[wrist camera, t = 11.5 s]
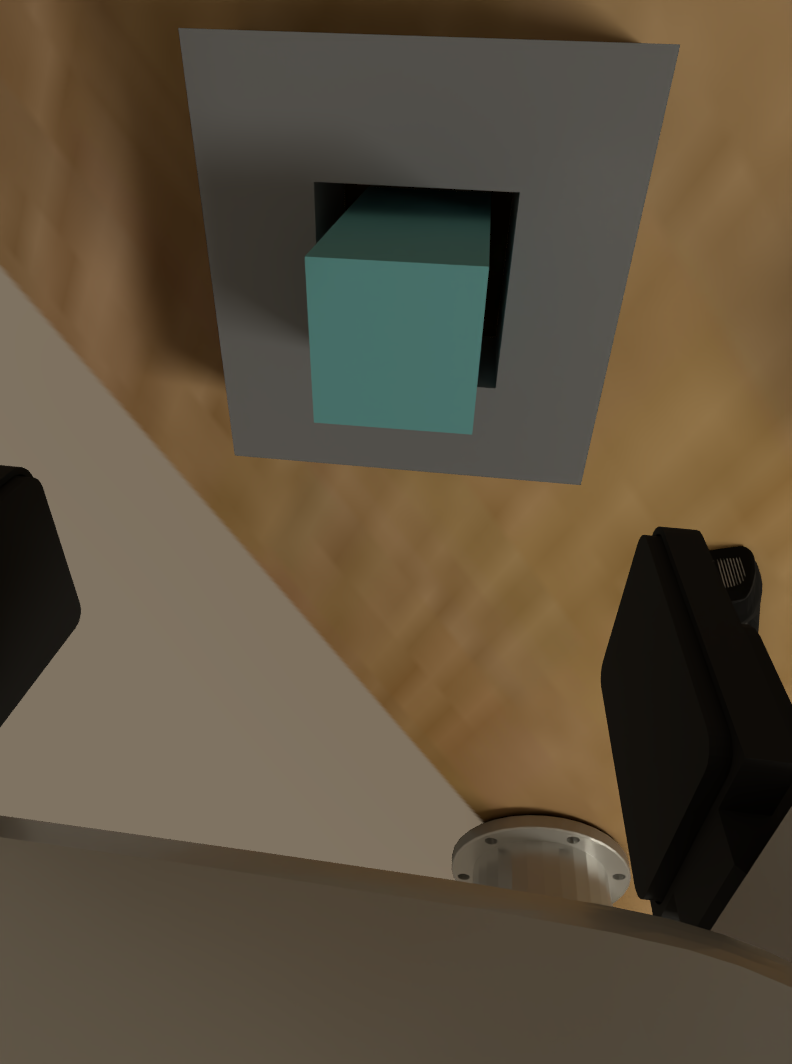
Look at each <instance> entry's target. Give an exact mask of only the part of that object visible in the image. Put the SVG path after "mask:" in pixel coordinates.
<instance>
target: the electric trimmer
mask: <svg viewBox="0 0 792 1064" xmlns="http://www.w3.org/2000/svg"><path fill="white" fill-rule="evenodd" d="M710 554H711V556H712V558H713V561H714V563H715V565H716V567H717V570H718V572H719V574H720V576H721V579H722V581H723V583H724V586H725V588H726V590H727V592H728V595H729V597H730V599H731V601H732V604H733V606H734V608H735V610H736V613H737V615H738V617H739V620H740V622H741V624H749V625H750V626H752V627H754V628H755V629H756V631H757V632H758V630H759V615H760V602H761V596H762V579H761V575H760V572H759V569H758V566H757V563H756V562H755V559H754V555H753V554H752V552H751V551H750V550H749V549H748V548H746V547H743V546H739V547H731V548H724V549H717V550H710Z"/></svg>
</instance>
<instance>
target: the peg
mask: <svg viewBox="0 0 792 1064" xmlns="http://www.w3.org/2000/svg"><path fill="white" fill-rule="evenodd" d="M490 217H491V192H480V191H458V190H436V189H414V188H392V187H370V186H368V187H367V189H366V190H365V191H364V192H363V193H362V194H361V195H360V196H359V197H358V198H357V200H356V201H355V202H354V203H353V204H352V205H351V206H350V207H349V208H348V209H347V211H346V212H345V213H344V214H343V215H342V216H341V217H340V218H339V219H338V220H337V222H336V223H335V224H334V225H333V226H332V227H331V228H330V229H329V230H328V231H327V233H326V234H325V235H324V236H323V237H322V238H321V239H320V240H319V241H318V242H317V243H316V245H315V246H314V247H313V248H312V249H311V250H310V251H309V252H308V253H307V254H306V256H305V273H306V291H307V309H308V326H309V344H310V362H311V380H312V398H313V415H314V423H326V424H339V425H352V426H365V427H378V428H391V429H405V430H418V431H431V432H444V433H457V434H470V435H472V432H473V422H474V412H475V402H476V392H477V382H478V372H479V362H480V352H481V342H482V332H483V322H484V312H485V303H486V293H487V283H488V273H489V253H490Z"/></svg>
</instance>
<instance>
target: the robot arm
mask: <svg viewBox="0 0 792 1064" xmlns="http://www.w3.org/2000/svg"><path fill="white" fill-rule="evenodd" d="M80 614H81V607H80V603H79V599H78V596H77V593H76V590H75V587H74V584H73V580H72V578H71V574H70V571H69V568H68V565H67V562H66V559H65V556H64V552H63V549H62V546H61V543H60V540H59V537H58V534H57V530H56V527H55V524H54V521H53V518H52V515H51V512H50V509H49V506H48V503H47V499H46V496H45V493H44V490H43V487H42V485H41V483H40V482H39V480H38V479H36V478H33V476H32V474H31V473H30V472H29V471H28V470H27V469H25V468H22V467H12V466H2V465H0V727H1V725H2V724H3V723H4V722H5V720H6V719H7V718H8V716H9V715H10V713H11V712H12V710H14V708H15V707H16V706H17V704H18V703H19V702H20V700H21V699H22V698H23V696H24V695H25V694H26V692H27V691H28V690H29V689H30V687H31V686H32V685H33V683H34V682H35V681H36V679H37V678H38V677H39V675H40V674H41V673H42V671H43V670H44V668H45V667H46V666H47V665H48V663H49V662H50V661H51V659H52V658H53V657H54V655H55V654H56V653H57V652H58V650H59V649H60V648H61V646H62V645H63V644H64V642H65V641H66V640H67V638H68V637H69V636H70V634H71V633H72V632H73V630H74V629H75V628H76V626H77V624H78V622H79V619H80ZM601 688H602V694H603V700H604V706H605V712H606V718H607V724H608V730H609V736H610V742H611V748H612V754H613V760H614V765H615V771H616V777H617V783H618V789H619V795H620V801H621V807H622V813H623V819H624V825H625V831H626V837H627V843H628V849H629V855H630V861H631V867H632V873H633V879H634V884H635V889H636V892H637V895H638V897H639V898H640V899H645V900H650V901H651V907H652V912H653V915H649V914H644V913H640V912H635V911H630V910H625V909H620V908H616V907H613V905H612V904H613V903H614V902H616V901H617V900H618V899H619V898H620V897H621V896H622V895H624V893H625V892H626V890H627V888H628V887H629V883H630V879H631V876H630V868H629V862H628V859H627V856H626V853H625V852H624V850H623V849H622V848H621V846H620V845H619V844H618V843H617V842H616V841H614V840H613V839H612V838H611V837H610V836H608V835H607V834H605V833H603V832H601V831H599V830H598V829H596V828H594V827H591V826H589V825H586V824H583V823H581V822H577V821H573V820H569V819H565V818H560V817H553V816H543V815H522V816H510V817H505V818H500V819H495V820H492V821H489V822H486V823H483V824H481V825H479V826H477V827H475V828H473V829H471V830H470V831H469V832H467V833H466V834H465V835H463V836H462V837H461V838H460V839H459V841H458V842H457V844H456V845H455V847H454V850H453V854H452V872H453V876H454V878H455V880H456V881H454V880H448V879H441V878H434V877H427V876H420V875H413V874H407V873H400V872H393V871H386V870H379V869H372V868H365V867H359V866H351V865H345V864H338V863H331V862H324V861H318V860H311V859H304V858H297V857H290V856H283V855H276V854H269V853H263V852H256V851H249V850H242V849H234V848H228V847H221V846H213V845H207V844H199V843H192V842H185V841H178V840H171V839H163V838H156V837H150V836H143V835H136V834H129V833H121V832H114V831H106V830H100V829H93V828H85V827H78V826H71V825H64V824H56V823H50V822H43V821H35V820H28V819H21V818H13V817H6V816H0V1064H792V704H791V702H790V700H789V697H788V695H787V693H786V691H785V689H784V687H783V685H782V682H781V680H780V678H779V676H778V674H777V672H776V669H775V667H774V665H773V663H772V661H771V659H770V656H769V654H768V652H767V650H766V648H765V646H764V644H763V641H762V639H761V637H760V635H759V634H758V632H757V631H756V629H755V628H754V627H752V626H750V625H749V624H741V622H740V620H739V617H738V615H737V613H736V610H735V608H734V606H733V604H732V601H731V599H730V597H729V595H728V592H727V590H726V588H725V586H724V583H723V581H722V579H721V576H720V574H719V572H718V570H717V567H716V565H715V563H714V561H713V558H712V556H711V554H710V551H709V549H708V547H707V545H706V542H705V540H704V538H703V536H702V534H701V532H700V531H698V530H691V529H680V528H669V527H657V528H656V529H655V531H654V532H653V535H652V536H650V535H642V536H641V537H640V539H639V542H638V544H637V548H636V551H635V555H634V558H633V561H632V565H631V568H630V572H629V575H628V578H627V582H626V585H625V589H624V592H623V595H622V599H621V602H620V605H619V609H618V612H617V616H616V619H615V622H614V626H613V629H612V633H611V636H610V639H609V643H608V646H607V650H606V653H605V656H604V660H603V664H602V669H601Z"/></svg>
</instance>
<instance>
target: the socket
mask: <svg viewBox="0 0 792 1064" xmlns="http://www.w3.org/2000/svg"><path fill="white" fill-rule="evenodd" d="M178 30H179V37H180V45H181V52H182V60H183V68H184V75H185V83H186V90H187V98H188V105H189V113H190V120H191V128H192V135H193V143H194V151H195V158H196V166H197V173H198V181H199V188H200V196H201V203H202V211H203V218H204V226H205V234H206V241H207V249H208V256H209V264H210V271H211V279H212V286H213V294H214V301H215V309H216V317H217V324H218V332H219V339H220V347H221V354H222V362H223V369H224V377H225V384H226V392H227V400H228V407H229V415H230V422H231V430H232V437H233V445H234V452H235V455H237V456H249V457H260V458H272V459H283V460H295V461H307V462H318V463H330V464H342V465H353V466H365V467H377V468H388V469H400V470H412V471H423V472H435V473H447V474H458V475H470V476H482V477H493V478H505V479H517V480H528V481H540V482H552V483H563V484H575V485H581V481H582V477H583V472H584V468H585V463H586V459H587V455H588V450H589V446H590V441H591V437H592V432H593V428H594V424H595V419H596V415H597V410H598V406H599V401H600V397H601V393H602V388H603V384H604V379H605V375H606V370H607V366H608V362H609V357H610V353H611V348H612V344H613V339H614V335H615V331H616V326H617V322H618V317H619V313H620V308H621V304H622V300H623V295H624V291H625V286H626V282H627V278H628V273H629V269H630V264H631V260H632V255H633V251H634V247H635V242H636V238H637V233H638V229H639V224H640V220H641V216H642V211H643V207H644V202H645V198H646V193H647V189H648V185H649V180H650V176H651V171H652V167H653V162H654V158H655V154H656V149H657V145H658V140H659V136H660V131H661V127H662V123H663V118H664V114H665V109H666V105H667V101H668V96H669V92H670V87H671V83H672V78H673V74H674V70H675V65H676V61H677V56H678V52H679V47H680V45H677V44H647V43H617V42H586V41H556V40H526V39H495V38H465V37H434V36H404V35H374V34H343V33H313V32H283V31H252V30H222V29H191V28H178ZM345 183H348V184H367V185H387V186H406V187H426V188H445V189H465V190H484V191H504V192H513V194H512V202H511V211H510V219H509V227H508V236H507V244H506V253H505V261H504V270H503V278H502V287H501V295H500V304H499V312H498V320H497V329H496V337H489V336H482V342H481V352H480V362H479V372H478V382H477V392H476V402H475V412H474V422H473V432H472V435H470V434H457V433H444V432H431V431H418V430H405V429H391V428H378V427H365V426H352V425H339V424H326V423H314V415H313V398H312V380H311V362H310V344H309V326H308V309H307V291H306V273H305V256H306V254H307V253H308V252H309V251H310V250H311V249H312V248H313V247H314V246H315V245H316V243H317V242H318V241H319V240H320V239H321V238H322V237H323V236H324V235H325V234H326V233H327V231H328V230H329V229H330V228H331V227H332V226H333V225H334V224H335V223H336V222H337V220H338V219H339V218H340V217H341V216H342V215H343V214H344V213H345Z"/></svg>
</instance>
